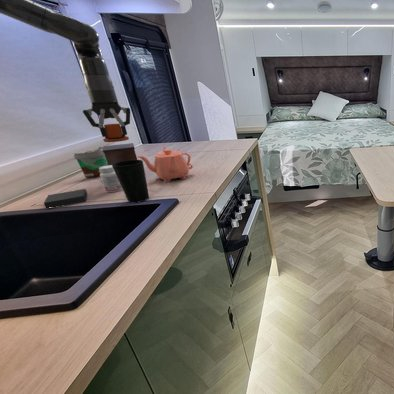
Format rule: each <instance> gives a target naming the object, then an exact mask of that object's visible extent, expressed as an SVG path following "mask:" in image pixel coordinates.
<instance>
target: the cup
mask: <svg viewBox="0 0 394 394" xmlns="http://www.w3.org/2000/svg"><path fill="white" fill-rule="evenodd" d="M144 165H145V164H144V161H143V160H142V159H137V160H127V161H121V162H117V163H114V164H113V165H112V167H113V169H114V171H115V173H116V176H117V178H118V180H119V182H120V184H121V186H122V191H123V193H124V196H125V198H126V200H127V202H128V203H130V202H136V203H139V202H138V201H141V202H145V201H147V200H148V199H150V195H149V188H148V184H147V177H146V171H145V166H144Z"/></svg>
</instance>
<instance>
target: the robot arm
mask: <svg viewBox="0 0 394 394" xmlns="http://www.w3.org/2000/svg"><path fill="white" fill-rule="evenodd" d="M1 14H2V15H3V16H6V17H8V18H10V19H13V20H16V21H19V22H20V23H23V24H26V25H28V26H30V27H33V28H36V29H38V30H40V31H43V32H45V33H48V34H51V35H52V34H53V35H57V36H59V37H62V38H64V39H66V40H69V41H70V42H72V45H73V47H74V50H75V53H76V54H77V55H76V56H77V57H78V63H79V66H80V69H81V72H82V76H83V81H84V84H85V89H86V91H87V94H88V97H89V100H90V104H91V108H88V109H83V110H82V114H83V115H84V116H85V118H86V120H88V122H89V124H90V126H92V127H93V128H98V129H99V131H100V134H101V136H102V138H104V139H105V138H108V136H107V133H106V130H105V127H104V125H105V124H104V123H105V120H107V119H115V120H116V121H117V122H118V124H120V127H121V130H122V134H123V137H126V136H127V135H128V132H127V128H126V126H128V125H130V124H131V108H130V107H124V106H121V105H120V103H119V101H118V97H117V94H116V91H115V86H114V84H113V81H112V79H111V76H110V72H109V69H108V66H107V64H106V61H105V59H104V57H103V54H102V51H101V48H100V43H99V42H100V36H99V33H98V31H97V30H96V29H95V28H93V26H91V25H90V24H88V23H86V22H83V21H81V20H80V19H77V18H74V17H71V16H68V15H65V14H62V13H60V12H58V11H55V10H53V9H51V8H49V7H47V6H45V5H42V4H41V3H39V2H36V1H33V0H0V15H1ZM121 111H122V113H124V114H125V120H124V121H123V120H122V118H121V117H120V116H119V114H120V113H121ZM93 113H95V114H96V115H97V116H99V118H98V123H97V122H96V121H95V119H94V118H93V117H92V116H93Z"/></svg>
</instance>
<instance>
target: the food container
mask: <svg viewBox="0 0 394 394" xmlns="http://www.w3.org/2000/svg"><path fill="white" fill-rule="evenodd" d="M73 154H74V155H73V156H74V160H76V161H77V163H78V165H79V167H80V169H81V171H82V173H83V175H84V177H85V178H86V179H93V178H99V177H100V174H101V172H100V170H99V168H100V167H102V166H108V163H107V160H106V157H105V154H104V153H103V146H98V149H95V150H88V151H85V152H79V153H73ZM100 178H101V177H100Z"/></svg>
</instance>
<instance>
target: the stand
mask: <svg viewBox="0 0 394 394" xmlns="http://www.w3.org/2000/svg"><path fill="white" fill-rule="evenodd" d="M87 198H88V192H87V189H86V188H82V189H76V190H70V191H65V192H58V193H53V194H48V195H47V197H46V198H45V200H44V201H43V205H44V207H45V209H46V208H49V207H55V208H57V207H56V206H60V207H63V206H62V205H65V206H70V205H75V204H80V203H86V202H87ZM49 209H50V208H49Z"/></svg>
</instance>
